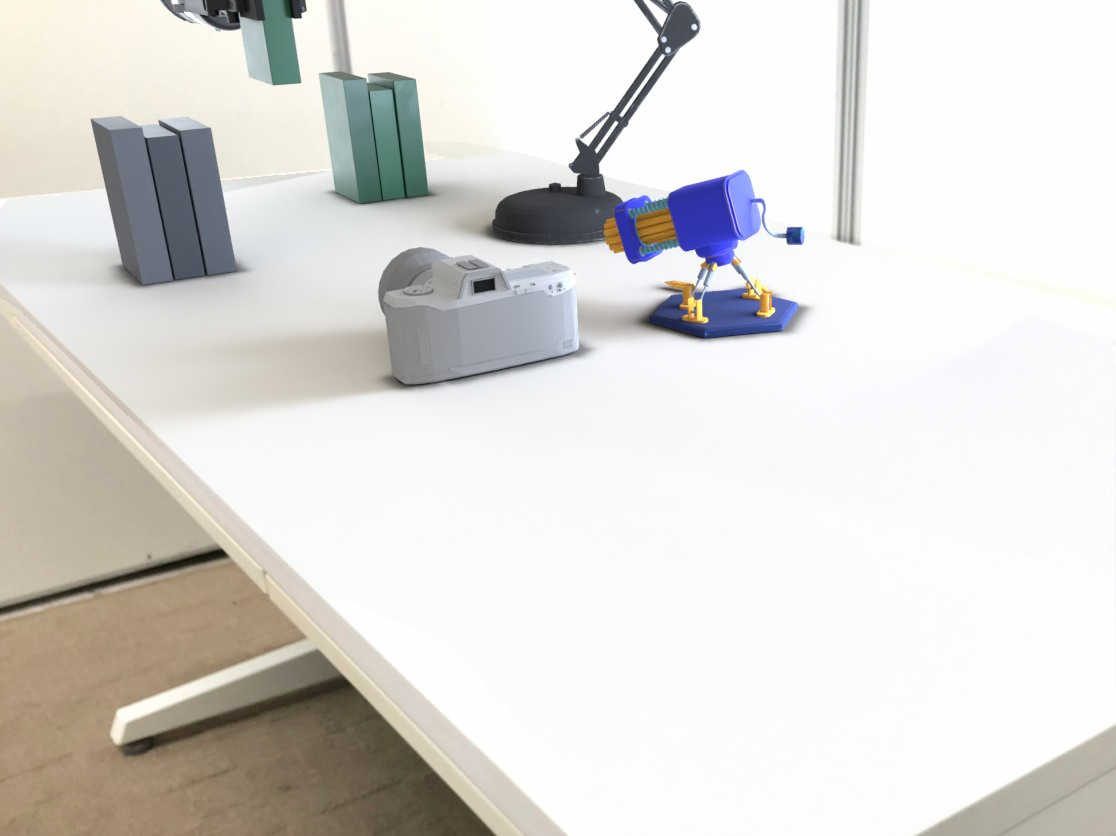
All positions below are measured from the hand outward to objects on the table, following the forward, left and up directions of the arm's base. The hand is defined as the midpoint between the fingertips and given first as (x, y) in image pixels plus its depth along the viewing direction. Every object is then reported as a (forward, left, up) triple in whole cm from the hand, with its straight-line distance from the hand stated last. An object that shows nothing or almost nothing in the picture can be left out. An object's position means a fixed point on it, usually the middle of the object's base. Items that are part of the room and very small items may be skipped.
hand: (277, 5), depth 132 cm
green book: (-3, +4, -8) cm, 9 cm away
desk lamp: (+25, +9, -24) cm, 36 cm away
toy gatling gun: (+46, -23, -24) cm, 57 cm away
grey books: (-10, -11, -24) cm, 28 cm away
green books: (-1, +28, -24) cm, 37 cm away
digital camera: (+27, -36, -24) cm, 51 cm away
